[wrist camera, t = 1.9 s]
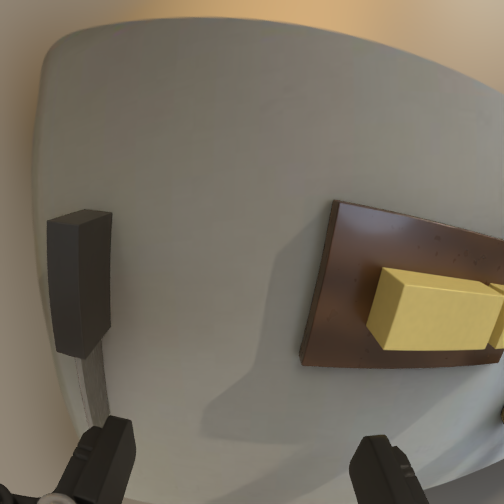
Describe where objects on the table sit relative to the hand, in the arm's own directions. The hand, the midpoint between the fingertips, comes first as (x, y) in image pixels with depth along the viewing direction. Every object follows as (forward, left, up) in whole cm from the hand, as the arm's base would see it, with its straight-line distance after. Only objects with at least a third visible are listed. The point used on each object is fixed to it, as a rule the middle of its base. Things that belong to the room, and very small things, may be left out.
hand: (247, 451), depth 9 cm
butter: (-2, +14, -12) cm, 18 cm away
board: (-2, +16, -14) cm, 21 cm away
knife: (+4, -11, -14) cm, 18 cm away
